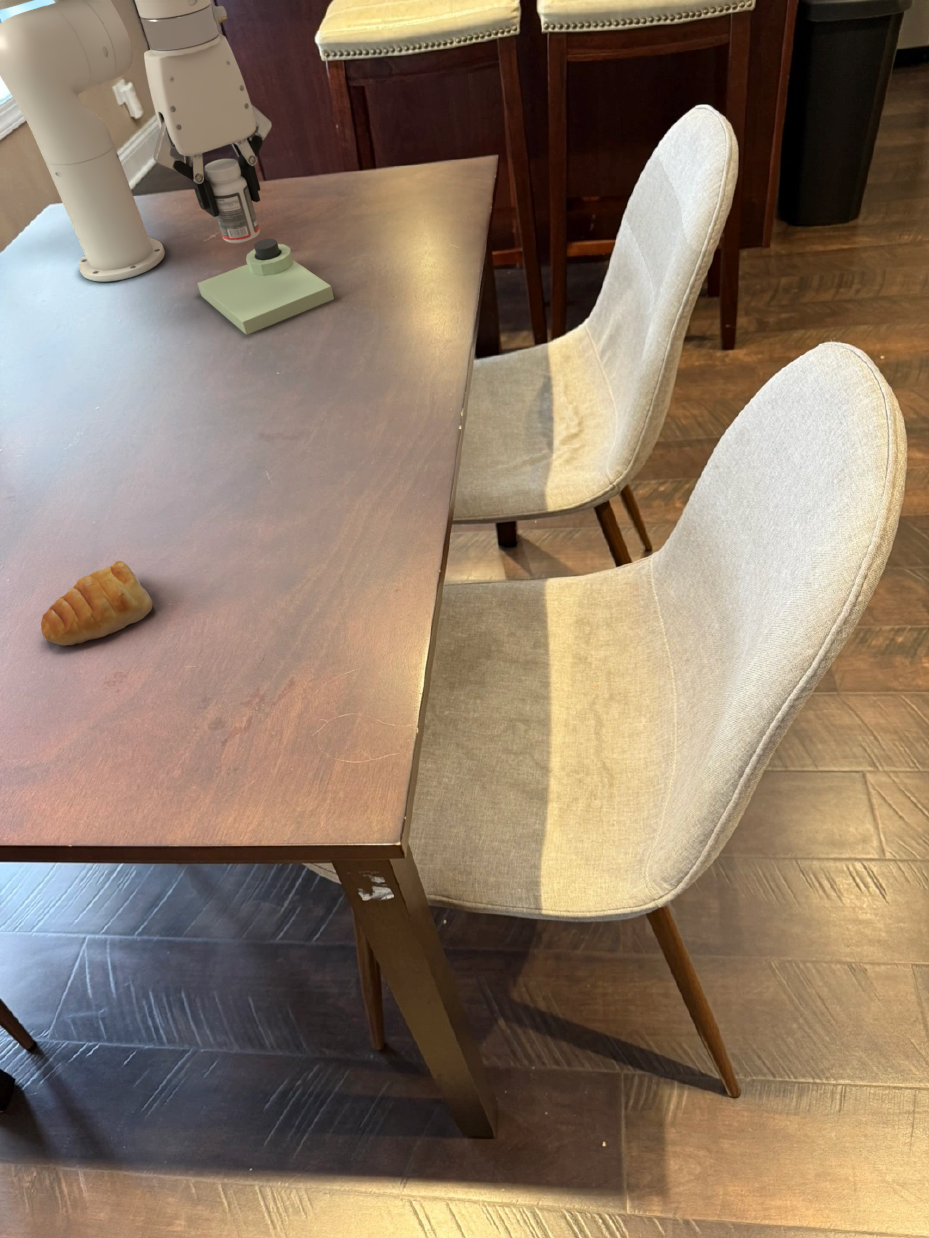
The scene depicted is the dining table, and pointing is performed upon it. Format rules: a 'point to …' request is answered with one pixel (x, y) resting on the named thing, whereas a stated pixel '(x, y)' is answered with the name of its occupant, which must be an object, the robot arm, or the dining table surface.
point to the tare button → (267, 249)
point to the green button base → (265, 291)
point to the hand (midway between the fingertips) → (232, 204)
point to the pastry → (97, 606)
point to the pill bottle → (232, 201)
